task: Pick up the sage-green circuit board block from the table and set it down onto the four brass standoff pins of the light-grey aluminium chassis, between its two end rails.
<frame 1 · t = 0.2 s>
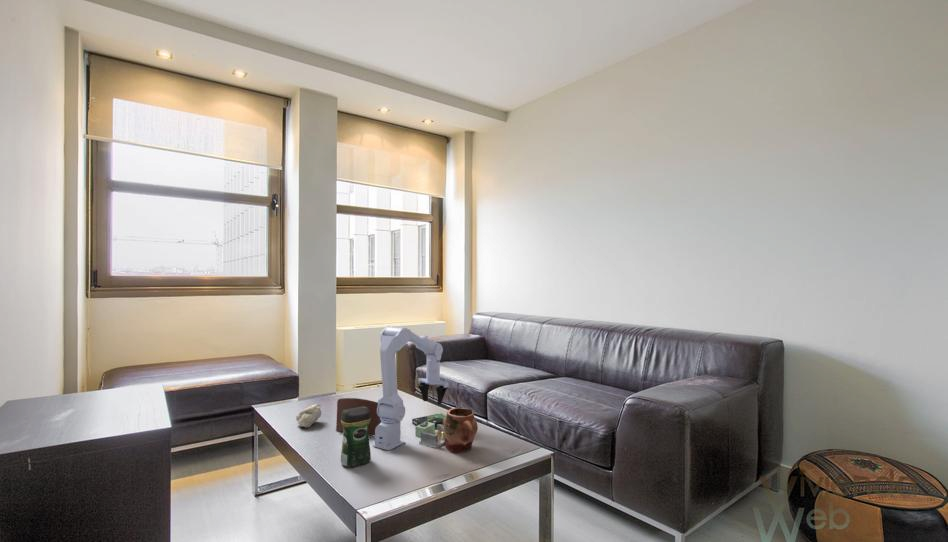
hand: (432, 402, 188), 10 cm above the table, tool pointing down, fingers open, 7 cm apart
coffee jar: (355, 463, 150), on the table
chassis: (437, 440, 170), on the table
fossil replica: (308, 425, 187), on the table
letter holder: (363, 430, 182), on the table
disk drive: (432, 425, 190), on the table
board: (425, 435, 177), on the table
decorative planter: (460, 450, 162), on the table
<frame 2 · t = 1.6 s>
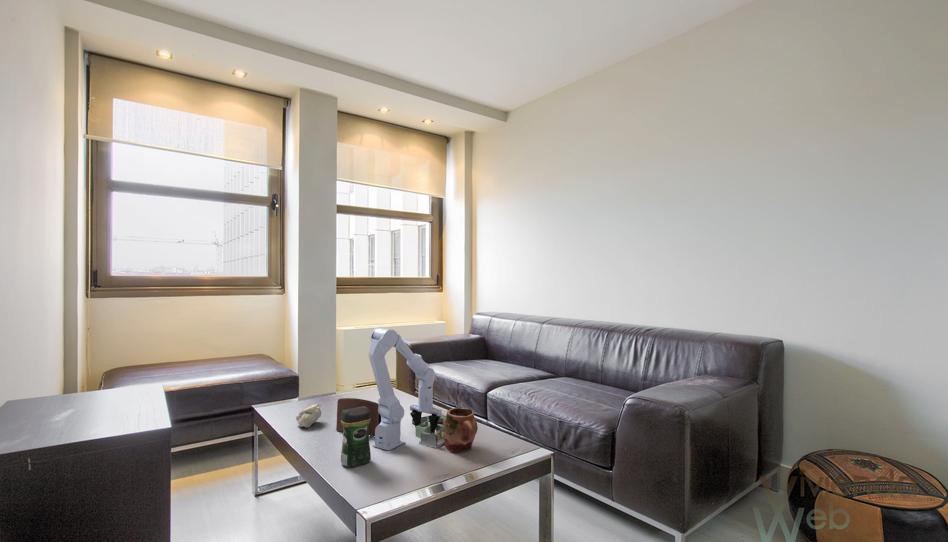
hand: (425, 430, 177), 1 cm above the table, tool pointing down, fingers open, 7 cm apart
nothing on the table moved.
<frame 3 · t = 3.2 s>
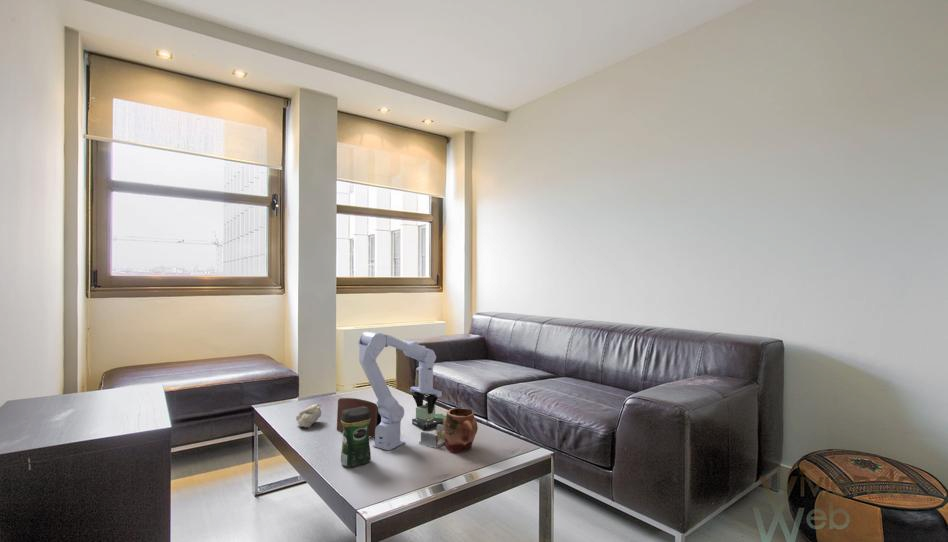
hand: (425, 412, 177), 9 cm above the table, tool pointing down, fingers closed on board, 4 cm apart
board: (425, 416, 177), point 7 cm above the table, touching gripper
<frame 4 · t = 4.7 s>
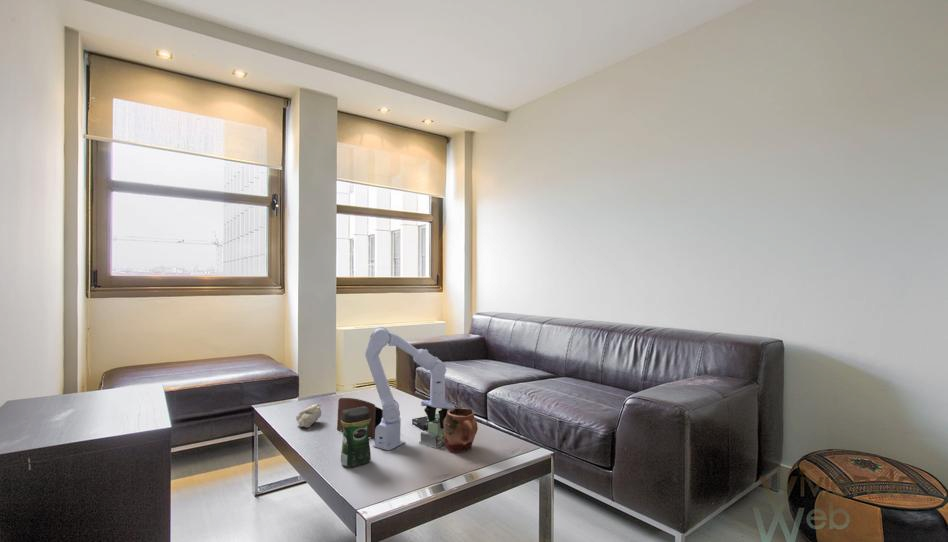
hand: (437, 426, 170), 5 cm above the table, tool pointing down, fingers closed on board, 4 cm apart
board: (438, 431, 171), point 3 cm above the table, touching gripper
decorative planter: (460, 450, 162), on the table, touching gripper
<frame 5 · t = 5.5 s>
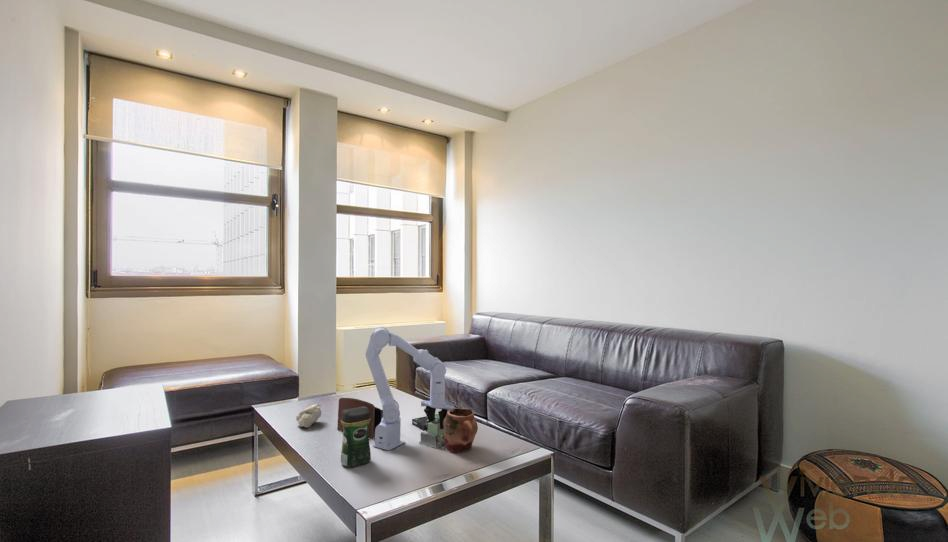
hand: (437, 427, 170), 5 cm above the table, tool pointing down, fingers closed on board, 4 cm apart
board: (437, 432, 171), point 3 cm above the table, touching gripper
when the fingers open (5 cm above the table, at t = 6.0 s): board stays where it is, resting on chassis.
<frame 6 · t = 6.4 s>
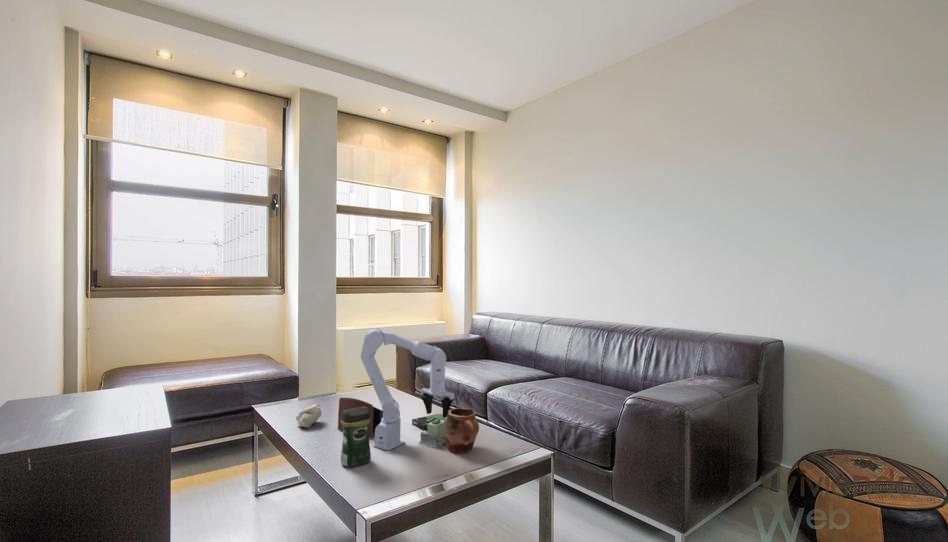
hand: (437, 415, 170), 10 cm above the table, tool pointing down, fingers open, 7 cm apart
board: (437, 432, 171), point 3 cm above the table, touching chassis
decorative planter: (462, 450, 161), on the table
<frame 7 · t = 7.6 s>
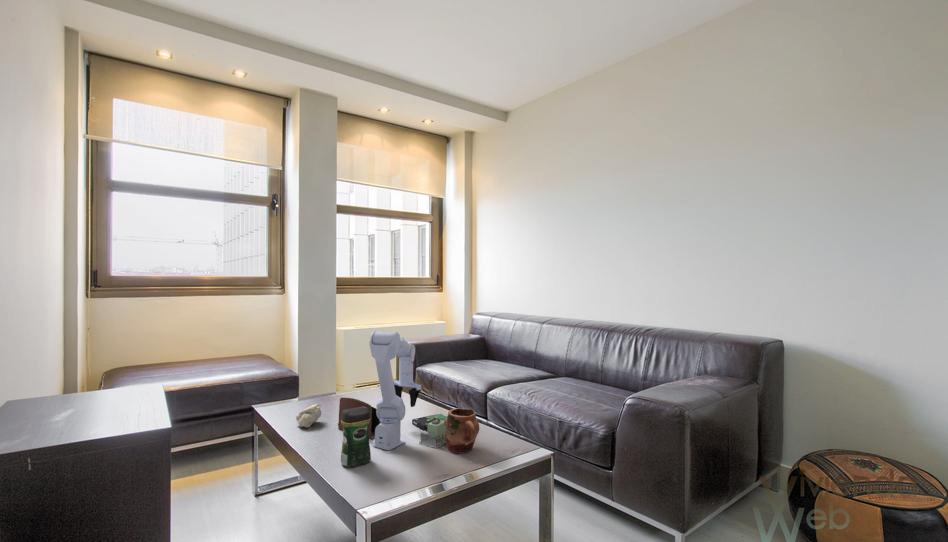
hand: (405, 404, 183), 10 cm above the table, tool pointing down, fingers open, 7 cm apart
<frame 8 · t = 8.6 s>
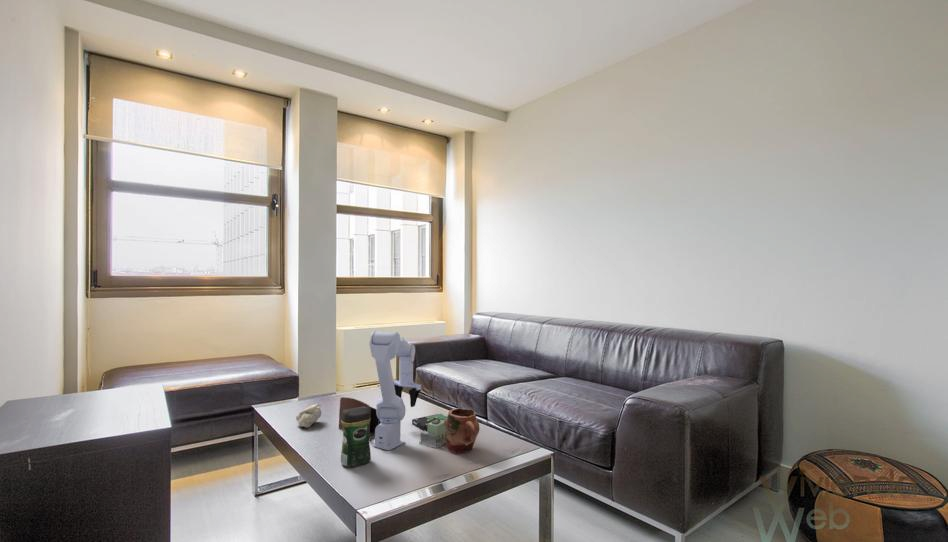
hand: (405, 404, 183), 10 cm above the table, tool pointing down, fingers open, 7 cm apart
at the end: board 0.3 cm off-centre on the chassis, point 3.0 cm above the chassis's base; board tilted 0°; the gripper is holding nothing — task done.
